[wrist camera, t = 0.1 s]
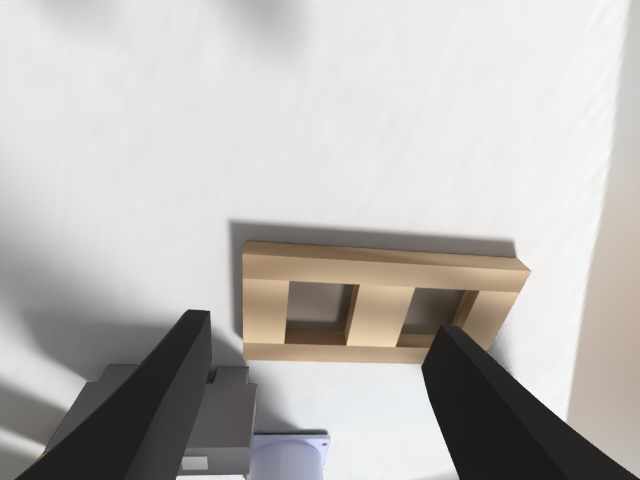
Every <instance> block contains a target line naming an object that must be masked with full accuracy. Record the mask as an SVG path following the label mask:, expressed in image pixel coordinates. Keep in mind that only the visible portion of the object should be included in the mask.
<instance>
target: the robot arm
mask: <svg viewBox="0 0 640 480" xmlns="http://www.w3.org/2000/svg"><path fill="white" fill-rule="evenodd" d="M211 359H212V351H211V322H210V311H205V310H187V311H186V312H185V313H184V314H183V315H182V316H181V318H180V319H179V320H178V322H177V323H176V324H175V325H174V326H173V328H172V329H171V330H170V331H169V332H168V334H167V335H166V336H165V337H164V338H163V340H162V341H161V342H160V343H159V344H158V345H157V346H156V348H155V349H154V350H153V351H152V352H151V353H150V354H149V355H148V356H147V358H146V359H145V360H144V361H143V362H142V363H141V364H140V365H139V366H138V367H137V368H136V370H135V371H134V372H133V373H132V374H131V375H130V376H129V377H128V378H127V379H126V380H125V381H124V382H123V383H122V384H121V385H120V386H119V387H118V388H117V389H116V390H115V391H114V392H113V393H112V394H111V395H110V396H109V397H108V398H107V399H106V400H105V401H104V402H103V403H102V404H101V405H100V406H99V407H98V408H97V409H95V410H94V411H93V412H92V413H91V414H90V415H89V416H88V417H87V418H86V419H85V420H84V421H83V422H81V423H80V424H79V425H78V426H77V427H76V428H75V429H74V430H73V431H71V432H70V433H69V434H68V435H67V436H66V437H65V438H64V439H62V440H61V441H60V442H59V443H58V444H57V445H56V446H54V447H53V448H52V449H51V450H50V451H48V452H47V453H46V454H45V455H44V456H42V457H41V458H40V459H39V460H38V461H36V462H35V463H34V464H33V465H32V466H30V467H29V468H28V469H27V470H26V471H24V472H23V473H22V474H21V475H20V476H18V477H17V478H16V479H15V480H176V477H177V474H178V471H179V468H180V465H181V462H182V459H183V456H184V453H185V449H186V446H187V443H188V440H189V437H190V434H191V431H192V428H193V425H194V422H195V419H196V416H197V413H198V410H199V407H200V404H201V401H202V398H203V395H204V391H205V387H206V382H207V378H208V373H209V369H210V364H211ZM421 368H422V373H423V377H424V381H425V386H426V389H427V393H428V397H429V400H430V403H431V406H432V408H433V411H434V414H435V416H436V419H437V422H438V424H439V427H440V429H441V432H442V435H443V437H444V440H445V442H446V445H447V448H448V450H449V453H450V455H451V458H452V460H453V463H454V466H455V468H456V471H457V473H458V476H459V479H460V480H640V479H639V478H637V477H636V476H635V475H633V474H632V473H630V472H629V471H627V470H626V469H625V468H623V467H622V466H620V465H619V464H618V463H617V462H615V461H614V460H612V459H611V458H610V457H608V456H607V455H606V454H604V453H603V452H602V451H600V450H599V449H598V448H597V447H595V446H594V445H593V444H591V443H590V442H589V441H587V440H586V439H585V438H584V437H582V436H581V435H580V434H579V433H577V432H576V431H575V430H573V429H572V428H571V427H570V426H569V425H567V424H566V423H565V422H564V421H562V420H561V419H560V418H559V417H558V416H556V415H555V414H554V413H553V412H552V411H551V410H549V409H548V408H547V407H546V406H545V405H544V404H542V403H541V402H540V401H539V400H538V399H537V398H536V397H534V396H533V395H532V394H531V393H530V392H529V391H528V390H527V389H525V388H524V387H523V386H522V385H521V384H520V383H519V382H518V381H517V380H516V379H514V378H513V377H512V376H511V375H510V374H509V373H508V372H507V371H506V370H505V369H504V368H503V367H502V366H501V365H499V364H498V363H497V362H496V361H495V360H494V359H493V358H492V357H491V356H490V355H489V354H488V353H487V352H486V351H485V350H484V349H483V348H482V347H480V346H479V345H478V344H477V343H476V342H475V341H474V340H473V339H472V338H471V337H470V336H469V335H468V334H467V333H465V332H464V331H463V330H462V329H461V328H460V327H459V326H450V325H440V327H439V329H438V331H437V333H436V335H435V338H434V340H433V342H432V344H431V346H430V349H429V351H428V353H427V355H426V358H425V360H424V362H423V364H422V366H421ZM329 444H330V436H329V435H254V436H253V446H252V455H251V464H250V473H249V474H246V480H323V469H324V465H325V461H326V457H327V453H328V448H329Z"/></svg>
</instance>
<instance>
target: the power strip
mask: <svg viewBox="0 0 640 480" xmlns="http://www.w3.org/2000/svg"><path fill="white" fill-rule="evenodd" d="M138 366H139V365H115V364H109V366H108V368H107V369H106V371H105V373H104V374H103V376H102V378H101V379H100V381H99V382H87V383H86V384H85V386H84V387H83V389H82V391H81V392H80V394H79V395H78V397H77V399H76V400H75V402H74V403H73V405H72V406H71V408H70V410H69V411H68V413H67V414H66V416H65V418H64V419H63V421H62V422H61V424H60V426H59V427H58V429H57V430H56V432H55V433H54V435H53V437H52V438H51V440H50V441H49V443H48V445H47V446H46V448H45V450H46V452H48V451H50V450H51V449H52V448H53V447H54V446H56V445H57V444H58V443H59V442H60V441H61V440H62V439H64V438H65V437H66V436H67V435H68V434H69V433H70V432H71V431H73V430H74V429H75V428H76V427H77V426H78V425H79V424H80V423H81V422H83V421H84V420H85V419H86V418H87V417H88V416H89V415H90V414H91V413H92V412H93V411H94V410H95V409H97V408H98V407H99V406H100V405H101V404H102V403H103V402H104V401H105V400H106V399H107V398H108V397H109V396H110V395H111V394H112V393H113V392H114V391H115V390H116V389H117V388H118V387H119V386H120V385H121V384H122V383H123V382H124V381H125V380H126V379H127V378H128V377H129V376H130V375H131V374H132V373H133V372H134V371H135V370H136V368H137V367H138ZM256 401H257V384H249V367H217V371H216V375H215V380H214V384H206V387H205V391H204V395H203V398H202V401H201V404H200V407H199V410H198V413H197V416H196V419H195V422H194V425H193V428H192V431H191V434H190V437H189V440H188V443H187V446H186V449H185V453H184V456H183V459H182V462H181V465H180V468H179V471H178V474H177V476H183V475H242V474H249V473H250V464H251V455H252V446H253V436H254V427H255V418H256Z"/></svg>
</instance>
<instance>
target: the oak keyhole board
mask: <svg viewBox="0 0 640 480" xmlns="http://www.w3.org/2000/svg"><path fill="white" fill-rule="evenodd" d="M530 273H531V270H529V269H528V268H527V267H526V266H525V265H524V264H523V263H522V262H521V261H520V260H519V259H518V258H508V257H493V256H477V255H462V254H446V253H431V252H415V251H399V250H384V249H368V248H353V247H337V246H322V245H306V244H290V243H275V242H259V241H246V242H245V246H244V249H243V253H242V278H243V360H270V361H314V362H358V363H402V364H423V362H424V360H425V358H426V355H427V353H428V351H429V349H430V346H431V344H432V342H433V340H434V338H435V335H436V333H437V331H438V329H439V327H440V325H450V326H459V327H460V328H461V329H462V330H463V331H464V332H465V333H467V334H468V335H469V336H470V337H471V338H472V339H473V340H474V341H475V342H476V343H477V344H478V345H479V346H480V347H482V348H483V349H484V350H485V351H486V352H487V351H488V349H489V348H490V346H491V344H492V342H493V340H494V338H495V337H496V335H497V333H498V331H499V329H500V328H501V326H502V324H503V322H504V320H505V318H506V317H507V315H508V313H509V311H510V309H511V307H512V306H513V304H514V302H515V300H516V298H517V297H518V295H519V293H520V291H521V289H522V287H523V286H524V284H525V282H526V280H527V278H528V276H529V275H530Z"/></svg>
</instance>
